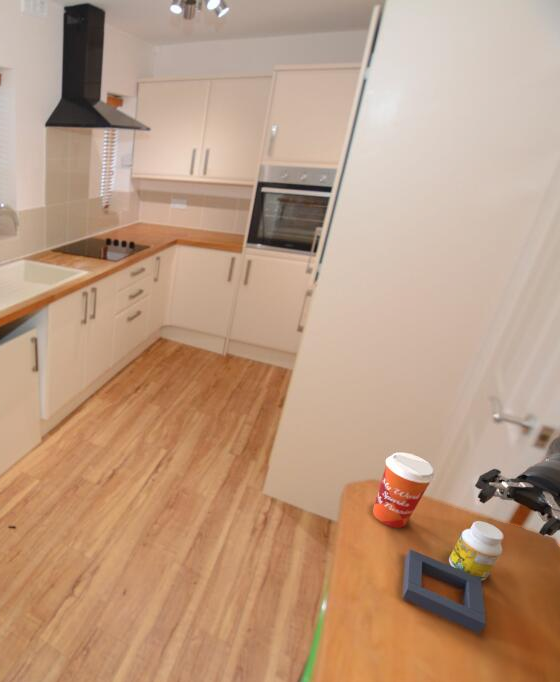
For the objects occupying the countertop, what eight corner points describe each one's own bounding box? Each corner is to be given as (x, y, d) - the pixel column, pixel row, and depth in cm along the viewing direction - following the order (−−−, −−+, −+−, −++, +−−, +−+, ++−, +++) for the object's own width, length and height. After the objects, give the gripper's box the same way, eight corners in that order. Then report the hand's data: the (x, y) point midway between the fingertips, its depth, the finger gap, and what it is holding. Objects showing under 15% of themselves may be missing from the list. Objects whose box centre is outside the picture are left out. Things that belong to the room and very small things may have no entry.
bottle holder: (475, 588, 79) (481, 578, 78) (479, 634, 72) (486, 624, 71) (405, 558, 85) (409, 548, 84) (402, 598, 77) (407, 588, 76)
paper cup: (361, 515, 94) (382, 462, 88) (373, 497, 98) (394, 445, 92) (406, 539, 89) (432, 483, 82) (417, 518, 93) (442, 465, 87)
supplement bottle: (491, 586, 79) (516, 547, 75) (454, 575, 81) (475, 537, 77) (478, 561, 84) (501, 523, 80) (443, 552, 86) (463, 514, 82)
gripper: (591, 523, 85) (555, 558, 79) (496, 476, 97) (457, 503, 90) (612, 493, 82) (576, 526, 75) (511, 448, 94) (472, 474, 87)
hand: (511, 513), depth 83 cm, fingers open, 8 cm apart
